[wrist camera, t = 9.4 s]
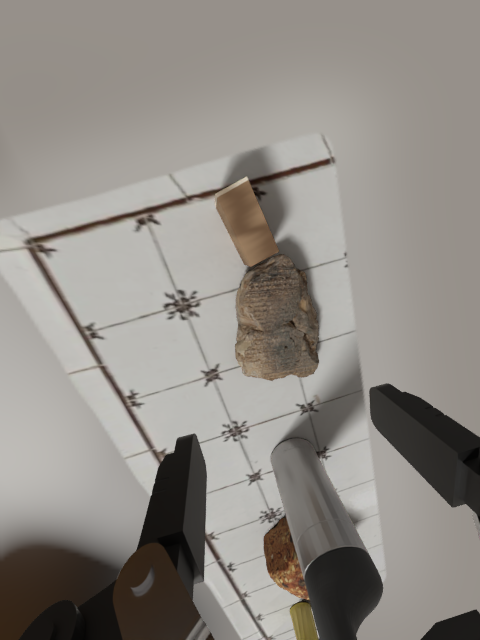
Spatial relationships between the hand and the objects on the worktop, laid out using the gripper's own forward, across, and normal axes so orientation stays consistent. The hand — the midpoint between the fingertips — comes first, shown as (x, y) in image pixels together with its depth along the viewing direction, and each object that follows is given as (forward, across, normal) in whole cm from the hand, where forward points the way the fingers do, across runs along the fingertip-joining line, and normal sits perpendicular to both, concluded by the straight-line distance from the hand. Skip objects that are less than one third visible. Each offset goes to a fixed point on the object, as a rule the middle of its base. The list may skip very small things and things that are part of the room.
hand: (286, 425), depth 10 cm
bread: (+28, -4, +59) cm, 66 cm away
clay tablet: (+27, -6, +4) cm, 28 cm away
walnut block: (+23, -5, -6) cm, 24 cm away
